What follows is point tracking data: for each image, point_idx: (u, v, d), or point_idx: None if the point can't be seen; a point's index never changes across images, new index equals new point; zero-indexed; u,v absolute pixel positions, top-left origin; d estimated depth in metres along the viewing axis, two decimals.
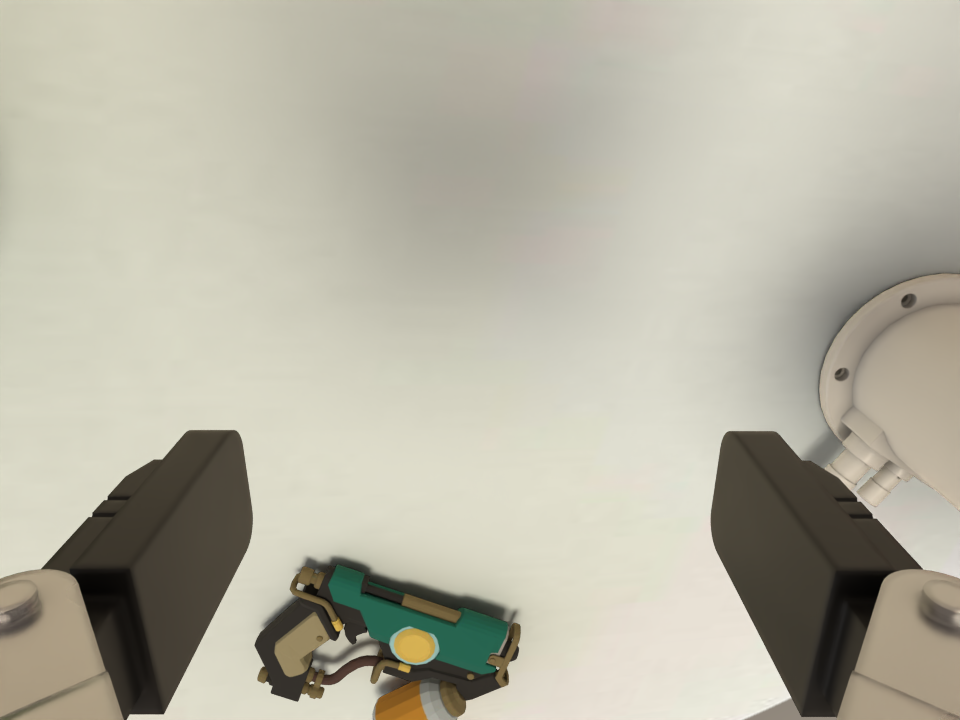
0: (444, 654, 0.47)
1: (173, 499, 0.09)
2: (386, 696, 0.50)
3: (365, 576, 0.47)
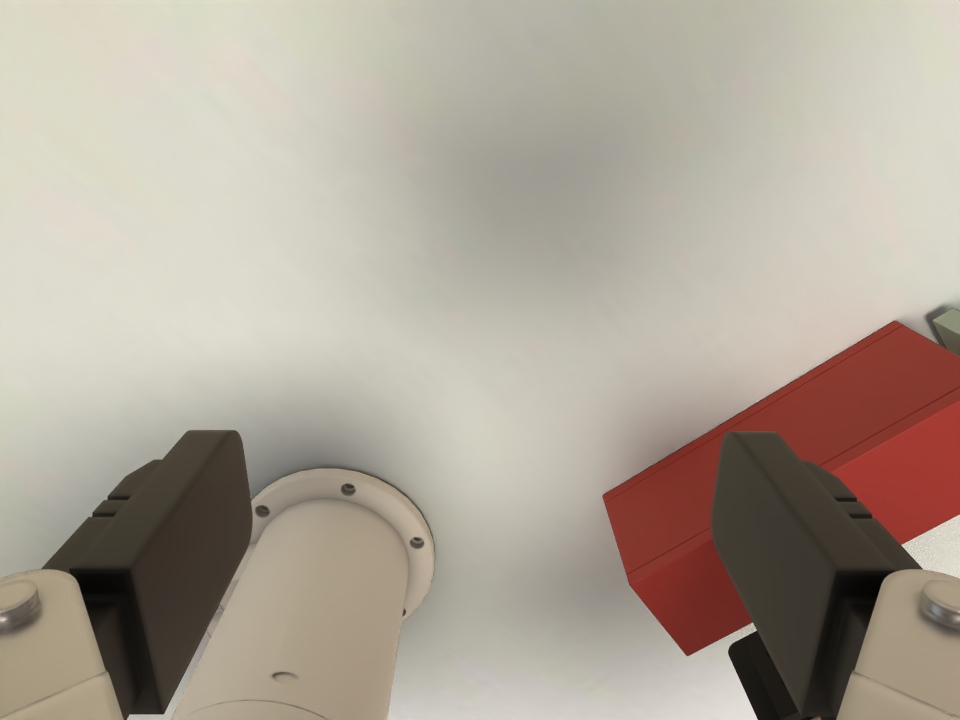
0: None
1: (173, 499, 0.09)
2: None
3: None
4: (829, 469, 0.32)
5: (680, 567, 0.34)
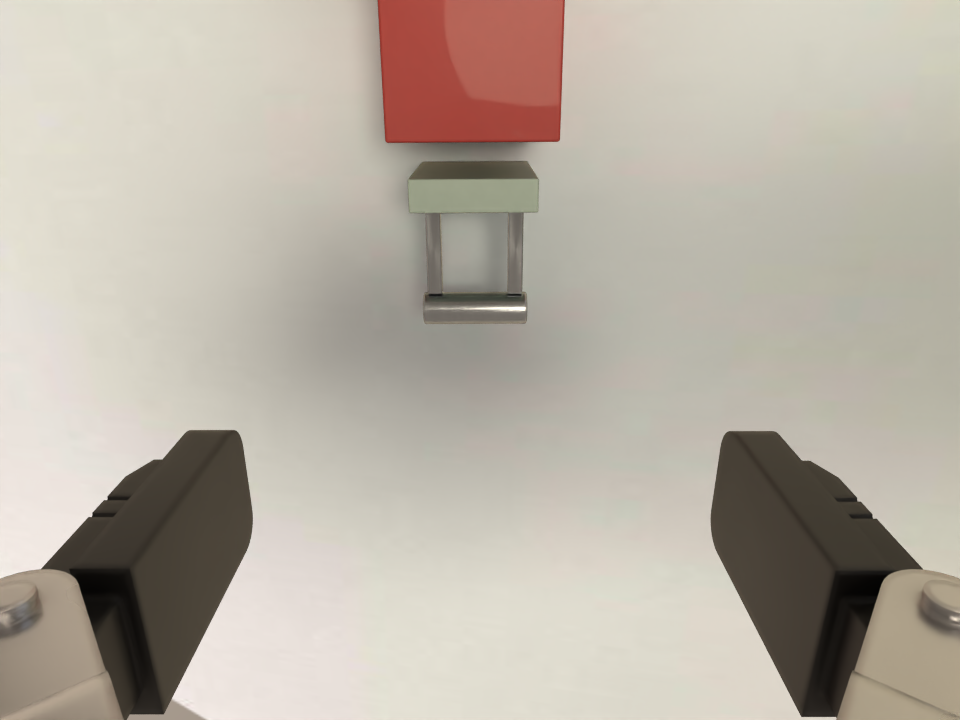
0: None
1: (173, 499, 0.09)
2: None
3: None
4: None
5: None
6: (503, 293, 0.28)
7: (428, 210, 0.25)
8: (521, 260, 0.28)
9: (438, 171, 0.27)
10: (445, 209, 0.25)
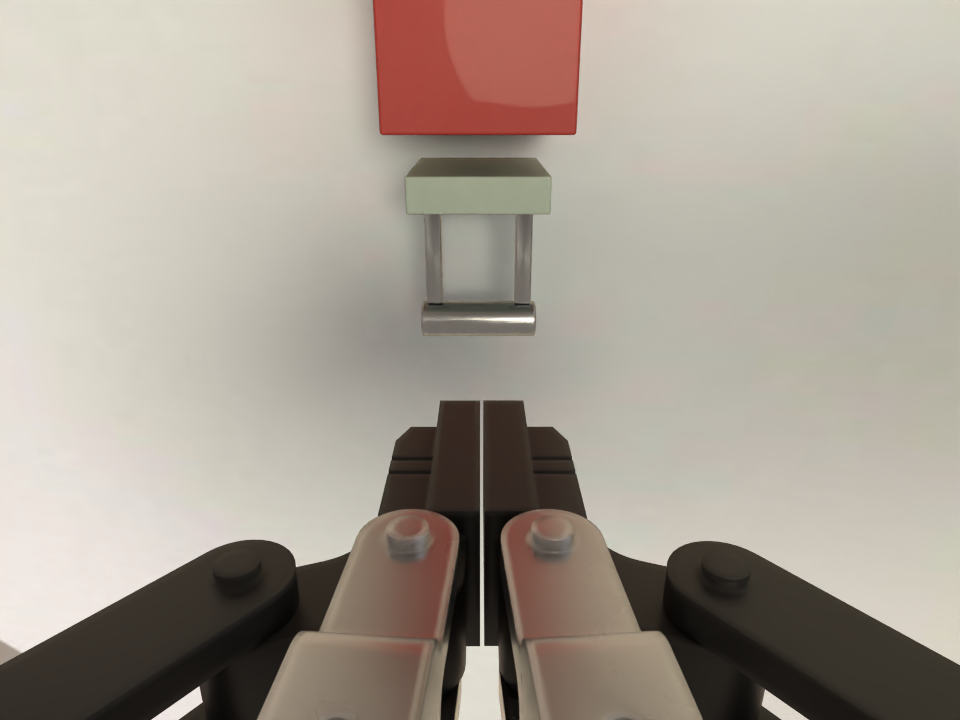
0: None
1: (472, 457, 0.10)
2: None
3: None
4: None
5: None
6: (509, 302, 0.26)
7: (427, 211, 0.22)
8: (530, 266, 0.25)
9: (439, 168, 0.24)
10: (446, 209, 0.22)
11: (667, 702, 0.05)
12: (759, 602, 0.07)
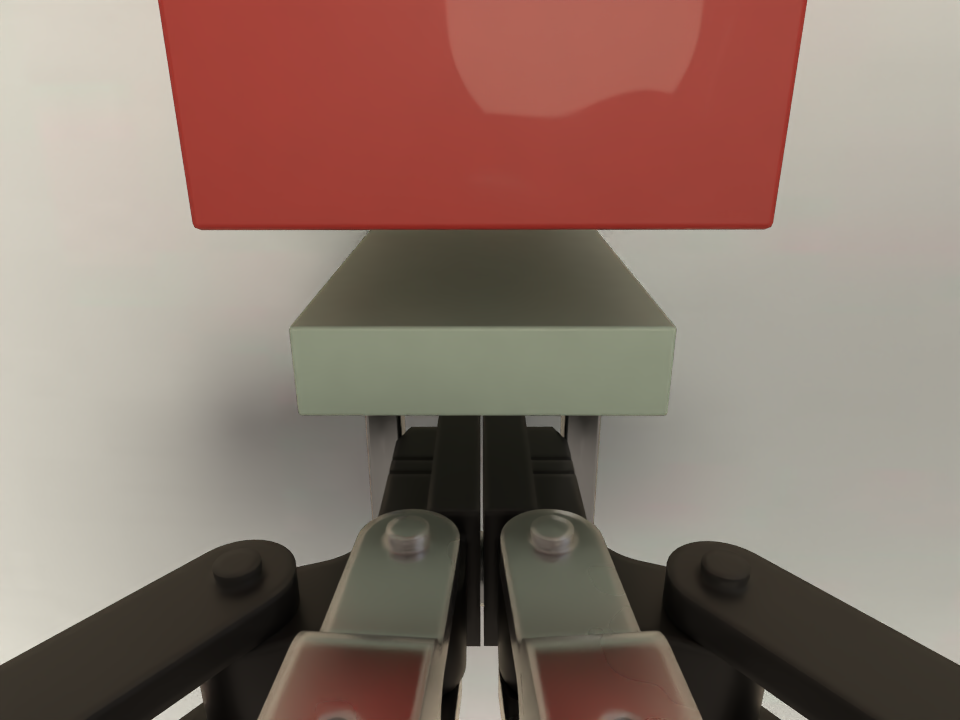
0: None
1: (472, 457, 0.10)
2: None
3: None
4: None
5: None
6: None
7: (353, 409, 0.09)
8: (594, 478, 0.12)
9: (392, 275, 0.10)
10: (402, 406, 0.09)
11: (666, 702, 0.05)
12: (759, 602, 0.07)
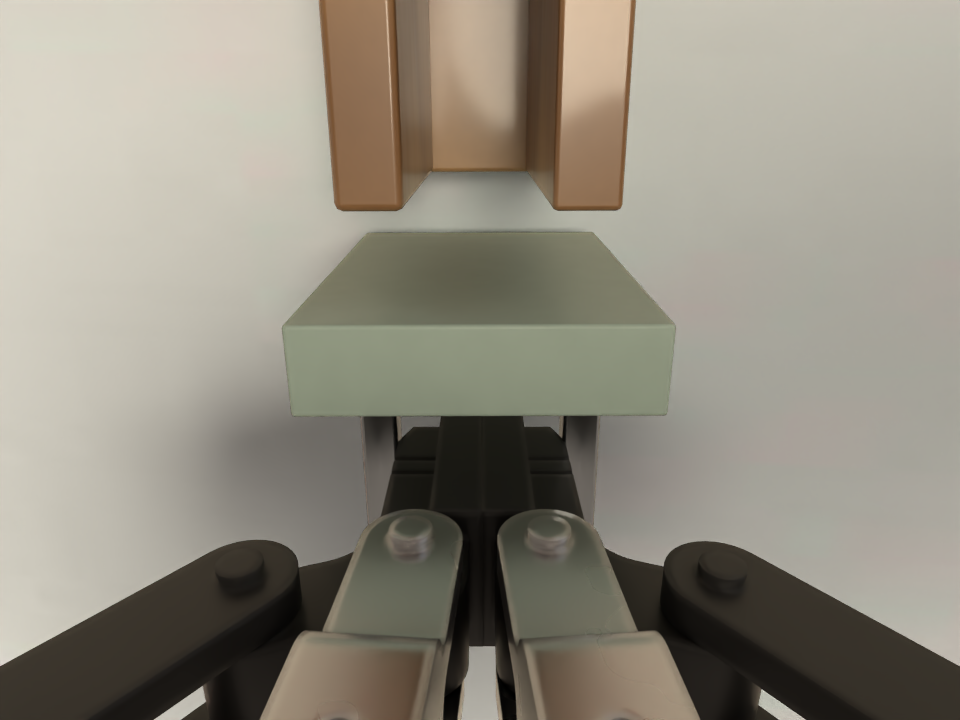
0: None
1: (475, 457, 0.10)
2: None
3: None
4: None
5: None
6: None
7: (347, 410, 0.08)
8: (593, 482, 0.11)
9: (388, 277, 0.10)
10: (398, 407, 0.08)
11: (664, 701, 0.05)
12: (755, 602, 0.07)
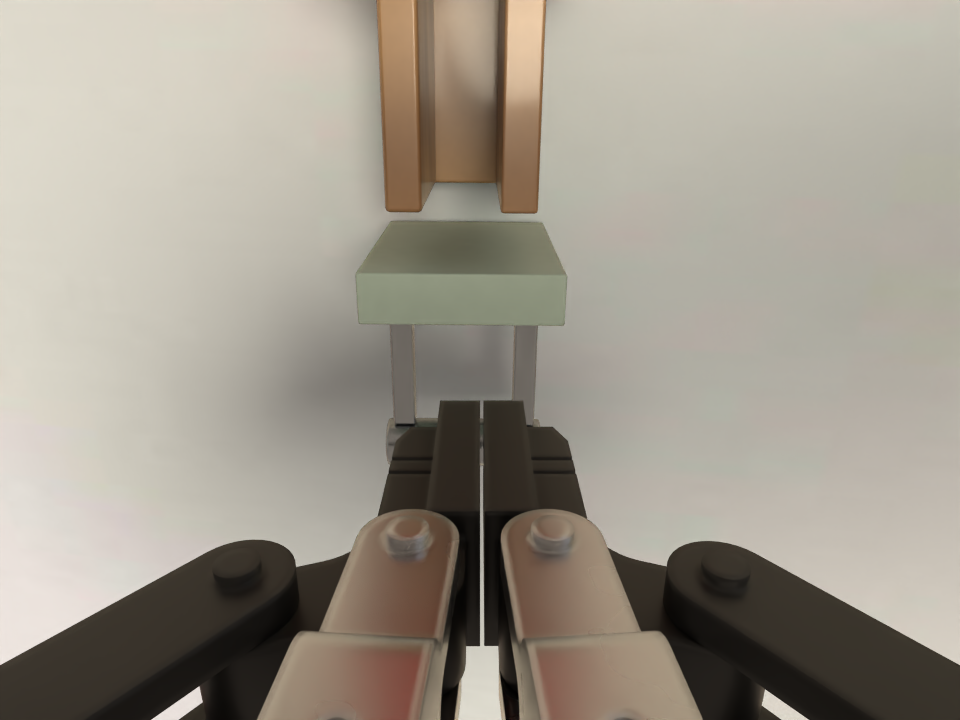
0: None
1: (472, 457, 0.10)
2: None
3: None
4: None
5: None
6: None
7: (389, 320, 0.15)
8: (533, 379, 0.18)
9: (409, 249, 0.17)
10: (416, 319, 0.15)
11: (667, 702, 0.05)
12: (759, 602, 0.07)
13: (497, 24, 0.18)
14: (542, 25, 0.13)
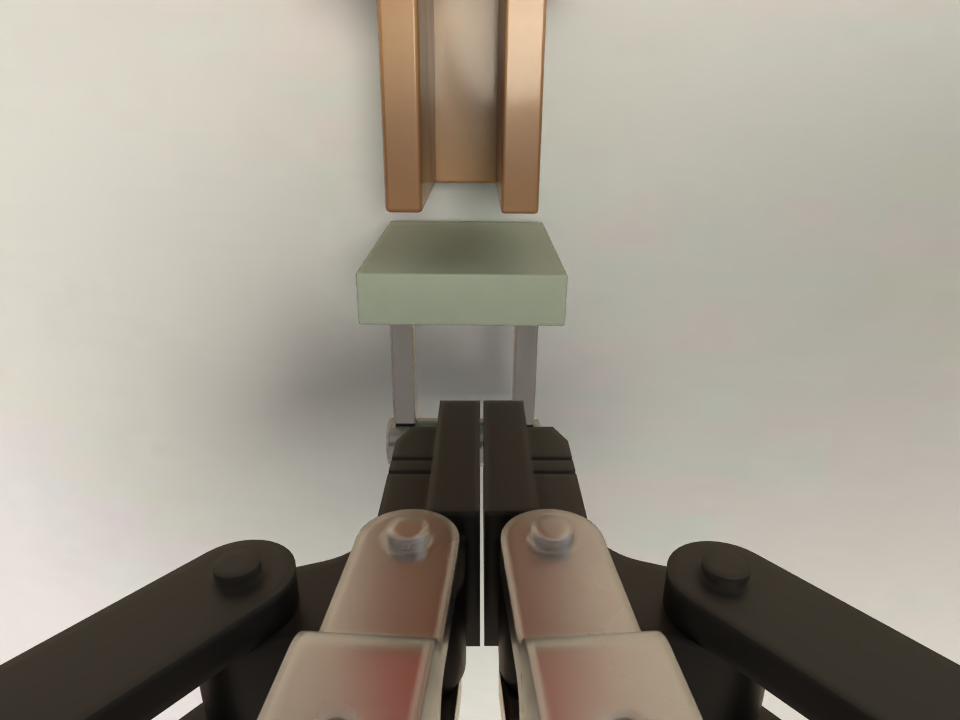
0: None
1: (472, 457, 0.10)
2: None
3: None
4: None
5: None
6: None
7: (389, 321, 0.15)
8: (534, 379, 0.18)
9: (409, 249, 0.17)
10: (417, 319, 0.15)
11: (667, 702, 0.05)
12: (759, 602, 0.07)
13: (497, 24, 0.18)
14: (542, 25, 0.13)
